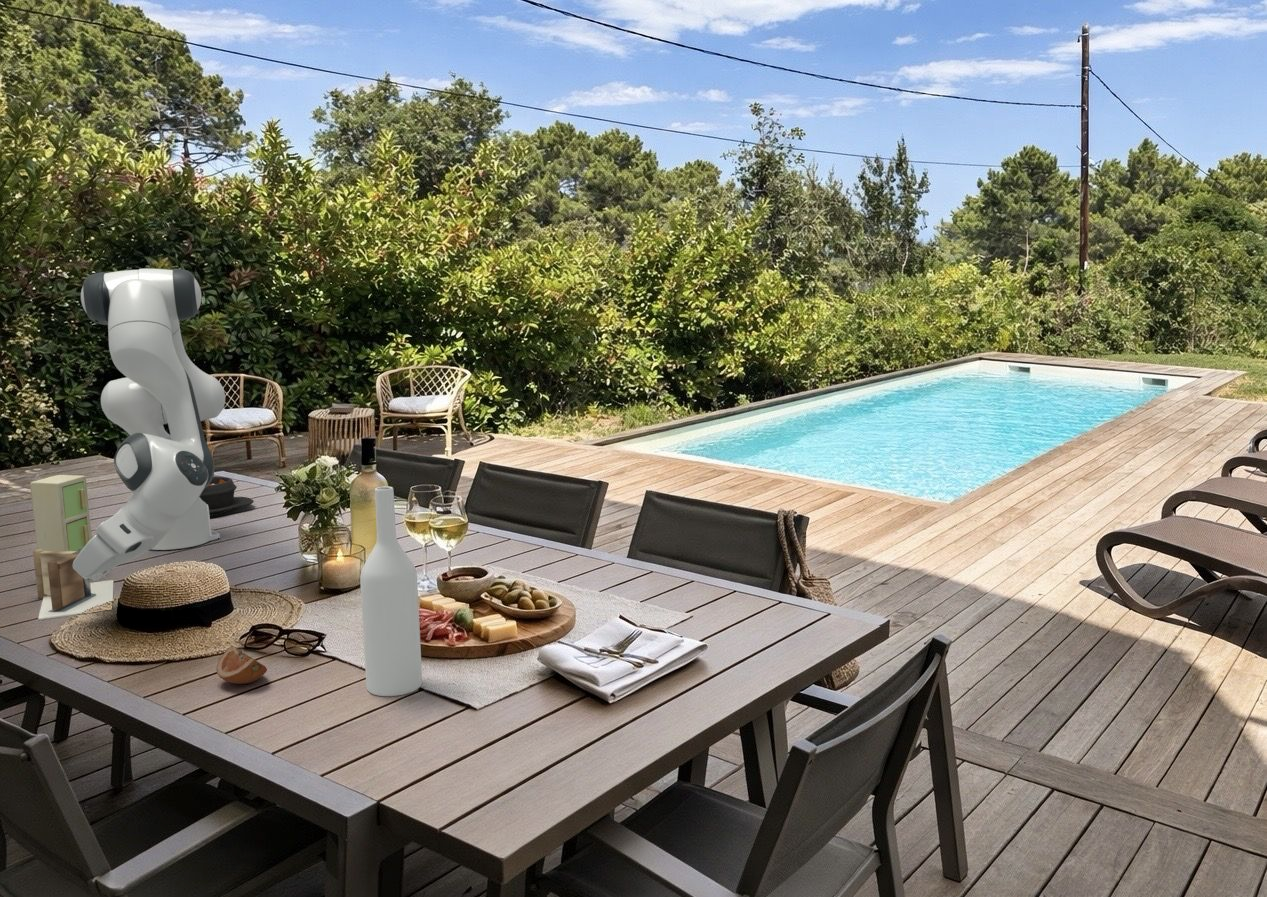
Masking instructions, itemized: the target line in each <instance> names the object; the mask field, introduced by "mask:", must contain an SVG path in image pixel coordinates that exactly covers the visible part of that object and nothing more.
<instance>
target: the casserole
mask: <svg viewBox="0 0 1267 897" xmlns="http://www.w3.org/2000/svg"><path fill="white" fill-rule="evenodd" d="M236 489H238V488H237V485H236V484H235V483H234V481H233V479H232V478H230V477H225V476H213V479H212V481H211V482H210V484H209V485H208V486H207V487H206V488H205V489H204V490H203V491H202V493H201V495H200V498H201V500H202V501H204V502H205V503H206V504H208V507H209V515H213V516H217V515H216V514H218V515H221V514H224V513H227V512H229V511H230V510H232V509H237V508H242V507H246V506H250V505H252V504H253V503H254V499H252V498H250V497H247V496H235V490H236ZM229 509H230V510H229ZM226 511H227V512H226ZM220 513H221V514H220Z"/></svg>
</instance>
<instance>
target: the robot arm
mask: <svg viewBox="0 0 1267 897" xmlns="http://www.w3.org/2000/svg"><path fill="white" fill-rule="evenodd" d="M80 302H81V306H82V308H83V310H84V312H85V313H86V315H87V317H88V319H89V320H91V321H92V322H93V323H95V324H99V325H102V326H103V325H104V326H105V325H106V326H107V329H108V330H107V332H108V348H109V349H108V350H109V353H110V357H111V360H112V362H113V364H114V366H115V367H116V369H117V370H118V371H119V372H120V373H121V374H123V376H125V377H121V378H117V379H113V380H110V381H108V382H107V383H106V385H105V386H104V387H103V389H102V391H101V395H100V406H101V409H102V412H103V413H104V415H105V417H107V419H108V420H109V421H111V422H112V423H113V424H115V425H117V426H119V427H120V428H121V429H123V430H124V431H125V432H126V433H127V434H128V435H129V436H127V437H126V438H125V439H123V441H122V442H121V443H120V444H119V446H118V448H117V450H116V452H115V454H114V457H113V465H114V469H115V471H116V473H117V475H118V477H119V478H120V480H121V482H122V483H123V484H124V486H125V487H127V489H128V490H129V491H132V496H131V498H129V500H127V502H126V503H125V504H124V505H123V506H122V507H121V508H119V509H118V511H116V512H115V513H114V515H111V516H110V517H108V518H107V519H106V520H104V521H103V522H101V523H99V524H98V525H97V527H96V528H95V530H94V531H95V533H96V534H95V535H93V537H92V539H91V540H90V541H89V542H88V543H87V544H86V545H85V547H84V548H83V549H82V551H81V552H80V553H79V555H78V556H77V557H76V559H75V560H74V562H73V569H74V570H75V571H76V572H77V573H78V574H79V575H80V576H81V577H83V578H84V579H89V578H90V581H93V582H97V581H98V580H99V579H102V578H105V577H106V576H107V574H108V573H109V572H111V571H112V570H113V569H115V568H116V567H118V566H119V565H121V564H124V563H126V562H127V561H130V560H133V559H135V558H137V557H139V556H141V555H143V554H146V553H147V552H149V551H150V550H152V551H153V550H154V551H159V550H160V551H168V550H179V549H187V548H191V547H196V546H201V545H203V544H207V543H208V542H210V541H211V542H212V541H215V540H219V539H221V534H220V533H219V532H218V531H216V530H215V529H212V526H211V518H210V517H211V516H209V507H208V504H206V503H205V502H204V501H202V500H201V498H200V495H201V493H202V491H203V490H204V489H205V488H206V487H207V486H208V485H209V484H210V482H211V481H212V479H213V477H215V468H216V467H215V461H214V457H213V455H212V452H211V451H210V448H209V446H208V443H207V441H206V438H205V434H204V430H203V426H202V422H201V421H206V420H207V421H208V420H211V419H214V418H217V417H218V416H219V415H220V414H221V413H222V411H223V410H224V407H225V403H226V393H225V390H224V387H223V385H222V383H221V382H220V381H219V380H218V379H217V378H216V377H214V376H212V375H210V374H208V373H206V372H205V371H203V370H202V369H200V368H199V367H198V366H197V365H195V363H193V360H191V359H190V357H189V356H188V354H187V352H186V349H185V345H184V342H183V338H182V334H181V327H180V322H181V321H185V320H189V319H191V318H195V316H196V315H197V314H198V313H199V309H200V306H201V302H202V290H201V286H200V284H199V282H198V280H197V279H196V278H195V275H194V274H193V273H192V272H190V270H186V269H182V268H181V269H180V268H173V269H165V268H139V269H127V270H119V271H117V270H116V271H111V272H105V271H102V272H100V271H99V272H96V273H93V274H89V275H88V276H87V277H86V278H84V280H83V283H82V288H81V291H80ZM164 425H167V426H168V430H169V433H168V431H166V430H165V427H164ZM218 538H219V539H218Z"/></svg>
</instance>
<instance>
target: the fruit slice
mask: <svg viewBox="0 0 1267 897" xmlns="http://www.w3.org/2000/svg"><path fill="white" fill-rule="evenodd" d="M216 665H217V666H216V674H217V675H218V677H219V678H221V679H222V680H223V681H225V682H228V683H230V684H238V685H245V684H246V685H247V684H251V683H253V682H255V681H257V680H259V679H260V678H261V677H263V676H264V675H265V674H266V673H267V671H268V668H267V667H266V666H265V665H264V664H262V663H260V662H259V661H258V660H257V659H254V658H253V657H252V656H250V655H249V654H246V653H244V652H243V650H241V649H239V648H238V647H236V646H234V645H232V644H231V645H230V646H229V647H228V648H227V650H226V651H224V653H223V654H222V656H220V659H219V661H218V662H217V664H216Z"/></svg>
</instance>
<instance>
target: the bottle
mask: <svg viewBox="0 0 1267 897" xmlns="http://www.w3.org/2000/svg"><path fill="white" fill-rule="evenodd" d="M394 492H395V491H394V487H393V486H385V485H384V486H378V487H375V489H374V499H375V501H374V502H375V518H376V519H375V520H376V521H375V522H376V524H375V525H376V542H375V544H374V546H373V549H372V550H371V552H370V554H369V555H368V557H367V560H365V563H364V564H363V567H362V569H361V571H360V577H359V579H360V580H359V581H360V582H359V583H360V600H361V614H362V615H361V616H362V617H361V618H362V630H363V631H362V632H363V633H362V634H363V649H364V650H363V652H364V665H365V666H364V667H365V685H366V689H367V691H368V693H370V694H372V695H375V696H377V697H378V696H379V697H396V696H403V695H404V696H405V695H406V694H407V695H408V694H410V693H413V692H416V691H417V690H419V689H420V687H421V686H422V684H423V672H422V670H423V669H422V652H421V651H422V650H421V630H420V628H421V627H420V611H419V609H420V608H419V607H420V606H419V590H418V588H419V587H418V574H417V568H416V566H415V565H414V563H413V561H412V560H411V558H410V557H409V556H408V554H407V553H406V551H405V550H404V548H403V547H402V546H401V544H400V543H399V540H398V539H397V531H396V530H397V529H396V513H395V511H396V510H395V494H394Z"/></svg>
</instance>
